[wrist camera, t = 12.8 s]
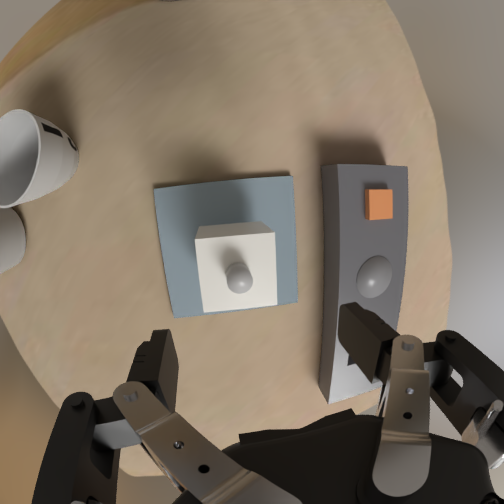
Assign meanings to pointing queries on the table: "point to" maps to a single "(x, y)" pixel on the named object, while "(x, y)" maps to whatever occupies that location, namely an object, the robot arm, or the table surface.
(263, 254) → the block
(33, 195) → the cup
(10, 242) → the can
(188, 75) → the table surface
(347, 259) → the power strip
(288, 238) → the mat
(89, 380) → the table surface
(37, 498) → the robot arm
